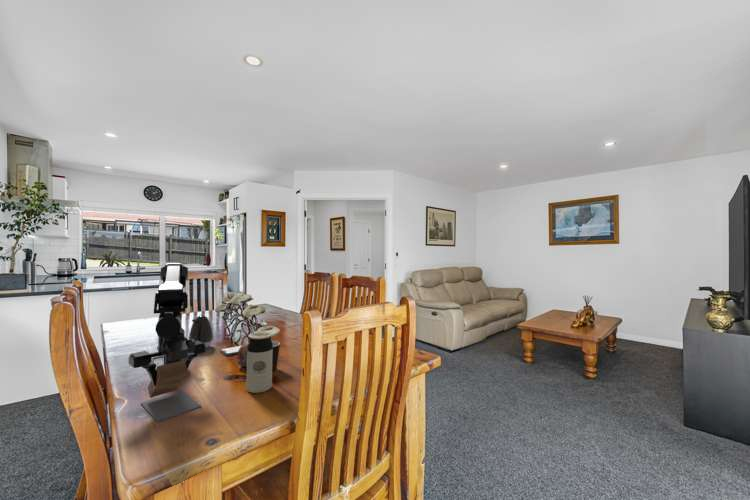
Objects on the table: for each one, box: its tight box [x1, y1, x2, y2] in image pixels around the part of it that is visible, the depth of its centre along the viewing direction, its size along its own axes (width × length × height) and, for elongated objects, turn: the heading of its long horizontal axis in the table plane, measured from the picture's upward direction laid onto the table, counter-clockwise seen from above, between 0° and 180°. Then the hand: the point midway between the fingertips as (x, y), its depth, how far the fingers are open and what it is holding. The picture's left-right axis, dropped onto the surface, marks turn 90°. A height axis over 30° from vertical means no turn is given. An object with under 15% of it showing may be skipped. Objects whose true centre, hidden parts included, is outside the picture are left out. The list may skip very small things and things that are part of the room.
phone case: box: [220, 345, 242, 357], centre depth 144 cm, size 9×2×16 cm
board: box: [147, 360, 188, 399], centre depth 95 cm, size 4×7×12 cm
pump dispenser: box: [188, 315, 214, 349], centre depth 147 cm, size 10×10×15 cm
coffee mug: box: [271, 340, 281, 373], centre depth 122 cm, size 12×9×10 cm
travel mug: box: [246, 331, 273, 394], centre depth 105 cm, size 8×8×18 cm
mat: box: [140, 390, 202, 423], centre depth 92 cm, size 15×11×1 cm
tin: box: [236, 342, 249, 368], centre depth 129 cm, size 15×3×8 cm, turn 168°
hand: (168, 381), depth 94 cm, fingers closed on board, 7 cm apart
